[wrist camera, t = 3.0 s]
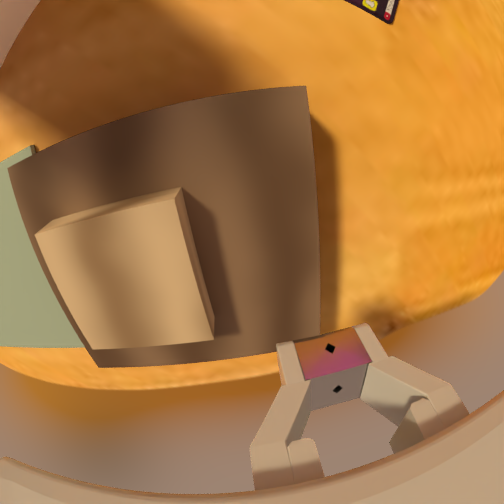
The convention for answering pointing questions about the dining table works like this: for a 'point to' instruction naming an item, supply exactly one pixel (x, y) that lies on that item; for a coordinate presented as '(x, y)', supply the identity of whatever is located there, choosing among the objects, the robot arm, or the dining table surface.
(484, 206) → the dining table surface
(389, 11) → the smartphone
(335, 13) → the dining table surface
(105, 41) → the dining table surface
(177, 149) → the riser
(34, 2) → the milk
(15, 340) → the mat
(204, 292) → the coaster
